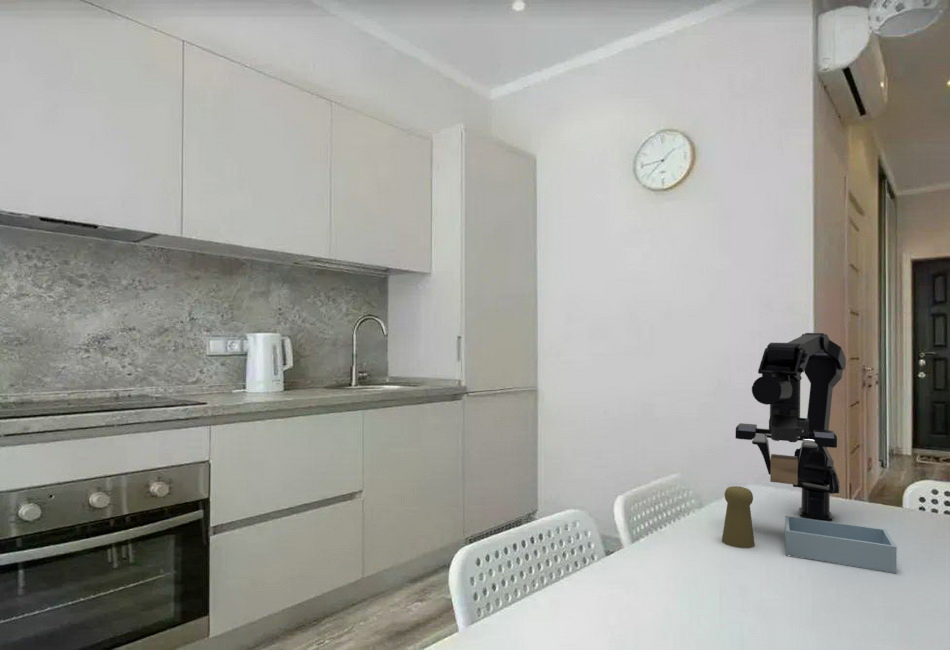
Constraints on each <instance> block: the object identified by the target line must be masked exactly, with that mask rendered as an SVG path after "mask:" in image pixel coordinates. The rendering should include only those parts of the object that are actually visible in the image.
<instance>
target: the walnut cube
mask: <svg viewBox="0 0 950 650" xmlns="http://www.w3.org/2000/svg"><path fill="white" fill-rule="evenodd" d="M770 460H771V469H770V477H769V478H770V482H771V483H779V484H787V485H792V486H793V485H798V457H797V456H794V455H785V454H775V453H770Z"/></svg>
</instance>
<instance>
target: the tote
mask: <svg viewBox="0 0 950 650" xmlns="http://www.w3.org/2000/svg"><path fill="white" fill-rule="evenodd" d="M784 521H785V522H784V543H785V544H784V545H785V547H784V548H785V556H787V555H790V556H789V557H793V556H797V557H796V558H799V557H803V558H802V559H805V558H809V559H808V560H811V559H815V560H814V561H817V560H821V561H820V562H823V561H828V562H827V563H830V562H833V563H832V564H836V563H837V564H838V565H845V566H850V567H854V568H855V567H857V568H862V569H866V568H867V569H868V570H872V571H873V570H874V571H879V572H886V573H892V574H897V545H896V543H895V542H894V540H893V539H892V537H891V536H890V533H889V532H888V530H887V529H885V528H878V527H871V526H863V525H856V524H848V523H843V522H842V523H841V522H834V521H829V520H822V519H815V518H807V517H798V516H797V517H796V516H789V515H785V516H784Z"/></svg>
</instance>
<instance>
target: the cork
mask: <svg viewBox="0 0 950 650" xmlns="http://www.w3.org/2000/svg"><path fill="white" fill-rule="evenodd" d="M724 499H725V501H726V503H727V504H726V512H725V516H724V517H725V518H724V524H723V525H724V526H723V531H722V537H721V541H722V544H725V545H727V546H729V547H733V548H739V549H750V548H751V549H752V548H755V545H756V543H755V535H754V529H753V528H754V527H753V519H752V513H751V512H752V511H751V505H752V503H753V500H754V494H753V492H752V491H751V490H750V489H749V488H747V487H742V486H739V485H738V486H737V485H736V486H728V487H726V489H725V491H724Z"/></svg>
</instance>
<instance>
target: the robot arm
mask: <svg viewBox="0 0 950 650" xmlns="http://www.w3.org/2000/svg"><path fill="white" fill-rule="evenodd" d="M846 365H847V360H846V355H845V353H844V351H843V348H842V347H841V346H840V345H838V343H837V344H836V343H835V342H834V341H832V340H831V339H830V338H829V336H828V334H826V333H824V332H806V333H802V334H801V335H800V336H798V337H797V338H795V339H793V340H791V341H788V342H770V343H768V345H767V347H766V348H764V351H763V354H762V357H761V361H760V364H759V367H758V370H757V371H758V372H757V373H758V374H759V375H761V376H759V377H758V378H757V379H756V380H755V381H754V382H753V383H752V386H751V394H752V397H754V399H755V400H756V401H757V402H758V403H760V404H763V405H767V406H768V405H769V419H768V428H758V425H757V424H753V423H739V424H738V425H737V426H736V427H735V439H738V440H744V441H751V444H752V445H756V446H757V447H758V449H759V451H760V453H761V455H762V457H763V459H764V463H765V466H766V469H767V470H766V471H767V473H768V475H770V469H771V453H770V445H769V439H771V440H772V441H775V442H779V441H784V442H789V443H796V442H798V441H800V442H801V441H802V442H801V445H800V448H796V449H795V451H794V455H793V456H797V457H798V485H793V484H792V487H793V488H800V489H801V507H799V509H798V510H799V511H798V512H799V516H800V517H801V518H808V519H815V520H823V521H833V519H834V518H833V516H832V512H831V511H830V505H831V503H830V502H831V495H833V494H840V487H841V486H840V479H839V476H838V474H837V471H836V468H835V467H834V459H833V457H832V455H831V453H830V452H829V450H828V448H832V449H833V448H837V447H838V436H837V434H836V433H835V432H834V431H833V430H829V429H830V419H831V418H830V417H831V409H832V401H833V400H832V399H833V389H834V387H835V386H837V384H838V383H839V381H841V379H842V377H843V371H844V370H845V369H846ZM803 373H804V374H805V376H806V378H807V379H808V381H809V383H810V387H809V396H808V397H809V398H808V405H807V414H806V417H801V380H802V379H803V377H802V374H803ZM837 449H838V448H837Z"/></svg>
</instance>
